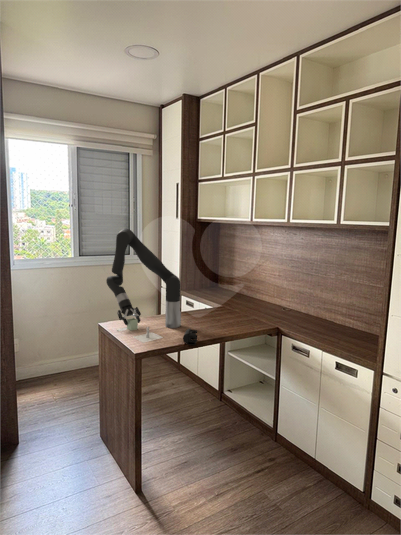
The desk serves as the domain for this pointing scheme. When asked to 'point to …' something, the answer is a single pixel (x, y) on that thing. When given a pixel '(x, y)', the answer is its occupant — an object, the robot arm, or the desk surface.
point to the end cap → (190, 337)
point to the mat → (122, 329)
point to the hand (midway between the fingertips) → (133, 323)
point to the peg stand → (147, 336)
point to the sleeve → (132, 324)
